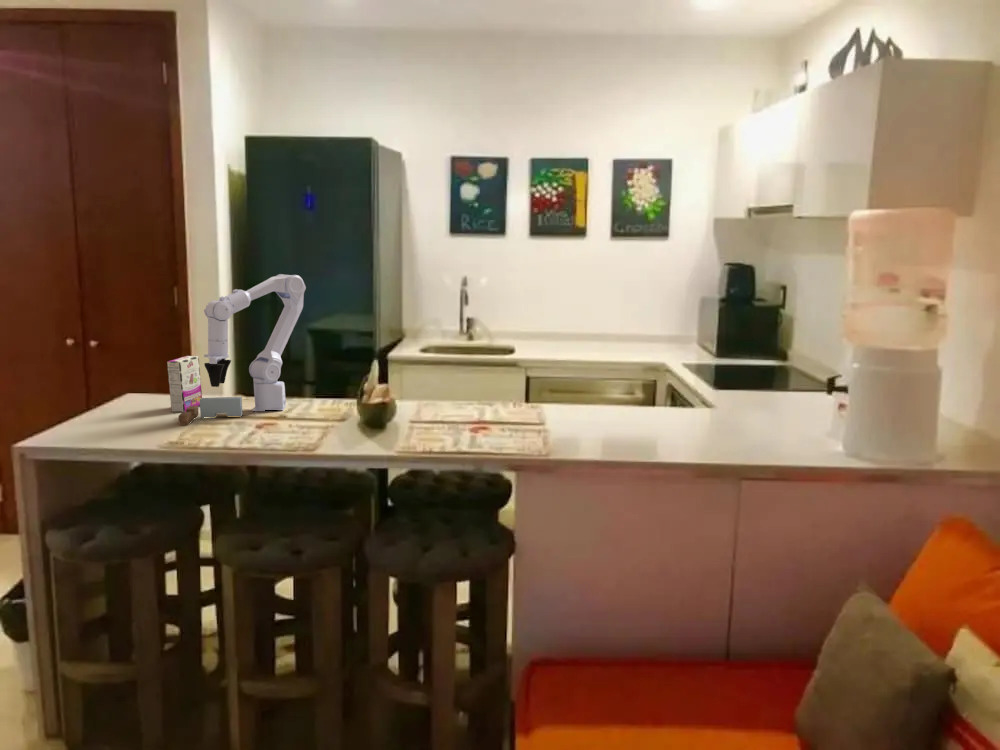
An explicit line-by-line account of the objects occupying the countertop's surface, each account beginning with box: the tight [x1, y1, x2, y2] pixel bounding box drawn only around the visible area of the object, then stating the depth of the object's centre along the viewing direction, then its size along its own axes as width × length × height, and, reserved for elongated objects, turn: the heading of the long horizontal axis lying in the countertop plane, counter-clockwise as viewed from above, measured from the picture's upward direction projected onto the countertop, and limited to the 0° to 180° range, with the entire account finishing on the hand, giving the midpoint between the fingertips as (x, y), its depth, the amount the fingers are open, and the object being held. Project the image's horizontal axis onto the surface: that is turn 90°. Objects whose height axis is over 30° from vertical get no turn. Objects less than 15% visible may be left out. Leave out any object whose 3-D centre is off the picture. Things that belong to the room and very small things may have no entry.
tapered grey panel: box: [199, 396, 243, 419], centre depth 264 cm, size 12×2×6 cm, turn 96°
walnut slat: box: [178, 406, 200, 427], centre depth 260 cm, size 2×14×3 cm, turn 6°
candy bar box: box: [166, 355, 203, 413], centre depth 276 cm, size 11×5×16 cm, turn 168°
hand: (217, 384), depth 263 cm, fingers open, 7 cm apart
